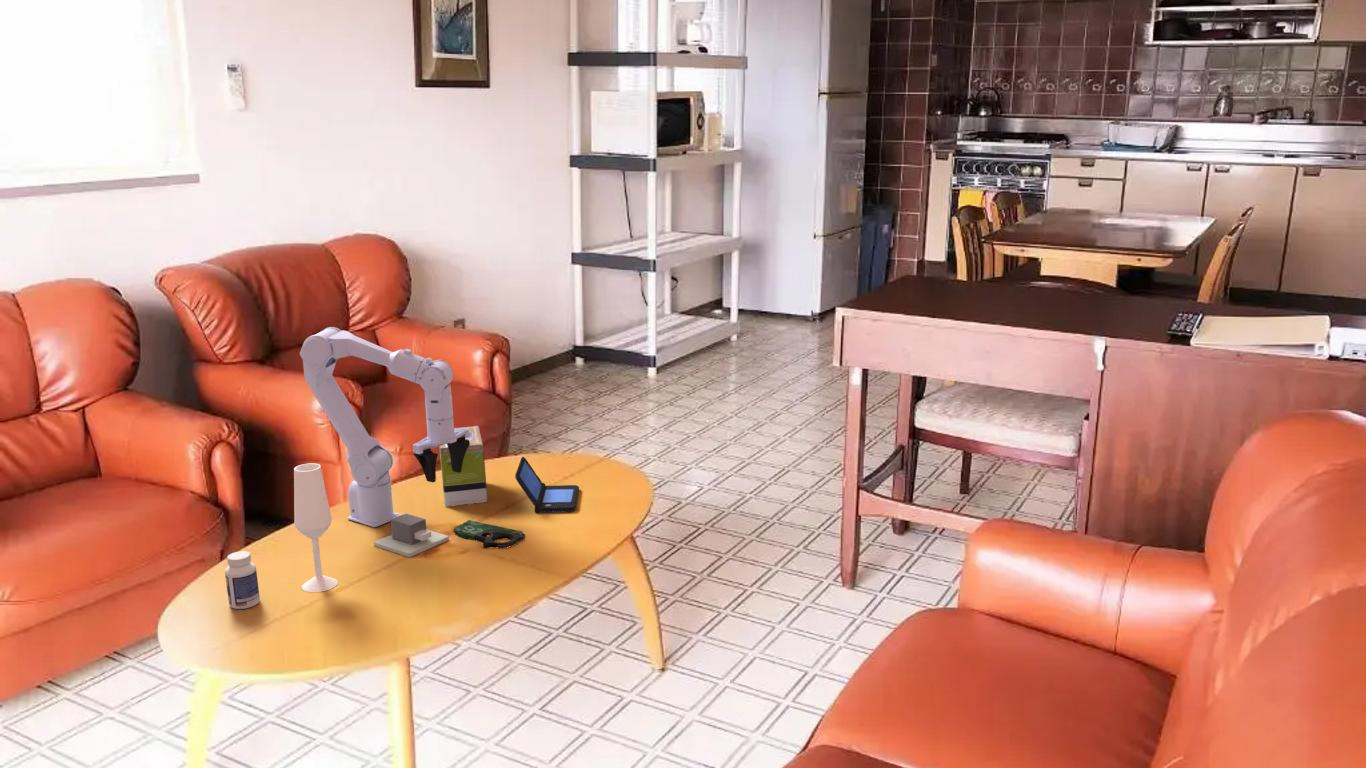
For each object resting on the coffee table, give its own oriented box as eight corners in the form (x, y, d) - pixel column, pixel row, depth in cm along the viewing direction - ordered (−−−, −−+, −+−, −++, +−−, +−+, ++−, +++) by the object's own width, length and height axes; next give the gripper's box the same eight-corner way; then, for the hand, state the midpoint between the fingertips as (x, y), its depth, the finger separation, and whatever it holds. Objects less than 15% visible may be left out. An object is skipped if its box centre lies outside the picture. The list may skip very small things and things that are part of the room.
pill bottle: (266, 599, 204) (260, 551, 202) (246, 611, 199) (240, 562, 197) (243, 595, 206) (237, 548, 204) (222, 607, 201) (216, 559, 199)
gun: (440, 534, 232) (470, 518, 240) (441, 540, 232) (471, 524, 241) (501, 547, 224) (530, 531, 233) (501, 554, 224) (530, 537, 233)
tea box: (442, 486, 264) (437, 428, 260) (484, 482, 266) (480, 424, 262) (444, 507, 250) (439, 446, 246) (488, 503, 252) (484, 442, 248)
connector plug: (392, 539, 230) (390, 519, 229) (407, 532, 233) (406, 513, 232) (419, 547, 225) (418, 527, 224) (434, 540, 228) (433, 521, 227)
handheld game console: (575, 513, 245) (574, 475, 243) (516, 515, 245) (514, 476, 243) (579, 489, 261) (578, 453, 258) (523, 491, 260) (521, 454, 258)
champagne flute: (298, 593, 207) (285, 474, 200) (305, 578, 213) (292, 462, 207) (335, 590, 207) (322, 472, 201) (340, 576, 214) (328, 460, 208)
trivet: (373, 545, 228) (373, 542, 228) (413, 528, 237) (413, 525, 237) (409, 557, 222) (408, 553, 222) (449, 539, 231) (448, 536, 231)
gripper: (427, 428, 228) (431, 489, 231) (477, 412, 239) (480, 470, 243) (404, 423, 232) (409, 483, 235) (454, 407, 243) (458, 464, 247)
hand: (444, 476), depth 239 cm, fingers open, 7 cm apart
